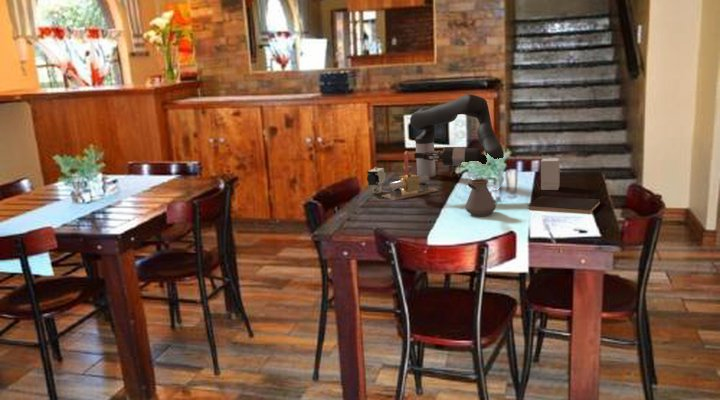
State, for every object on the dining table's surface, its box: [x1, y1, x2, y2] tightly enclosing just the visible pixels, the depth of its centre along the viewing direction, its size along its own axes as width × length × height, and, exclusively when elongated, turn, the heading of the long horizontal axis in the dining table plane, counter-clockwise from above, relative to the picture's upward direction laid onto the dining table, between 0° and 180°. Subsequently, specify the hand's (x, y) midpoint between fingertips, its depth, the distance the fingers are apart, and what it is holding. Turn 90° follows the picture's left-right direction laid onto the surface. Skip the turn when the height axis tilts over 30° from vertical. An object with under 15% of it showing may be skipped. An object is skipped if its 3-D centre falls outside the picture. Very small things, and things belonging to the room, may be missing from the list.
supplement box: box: [540, 157, 561, 191], centre depth 269 cm, size 7×7×13 cm
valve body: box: [381, 171, 439, 201], centre depth 280 cm, size 24×10×10 cm, turn 122°
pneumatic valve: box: [366, 166, 387, 195], centre depth 287 cm, size 6×12×12 cm, turn 154°
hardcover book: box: [527, 195, 602, 214], centre depth 238 cm, size 16×23×2 cm
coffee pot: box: [464, 178, 497, 217], centre depth 232 cm, size 21×12×15 cm, turn 155°
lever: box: [403, 150, 414, 175], centre depth 272 cm, size 14×4×9 cm, turn 172°
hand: (414, 155), depth 266 cm, fingers closed
